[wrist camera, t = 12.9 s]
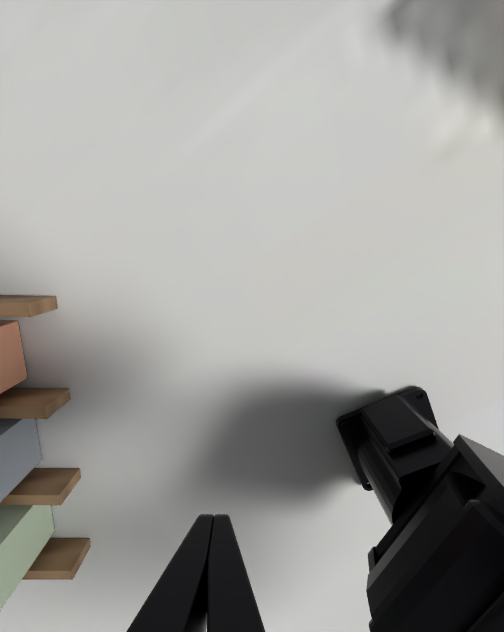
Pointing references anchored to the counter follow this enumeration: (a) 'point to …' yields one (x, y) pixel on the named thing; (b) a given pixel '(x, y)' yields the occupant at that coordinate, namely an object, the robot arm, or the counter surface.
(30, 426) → the grey tall block
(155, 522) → the counter surface
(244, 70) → the counter surface
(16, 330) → the pink rectangular block
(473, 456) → the robot arm
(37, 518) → the sage key
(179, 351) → the counter surface
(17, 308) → the wooden slotted rack
